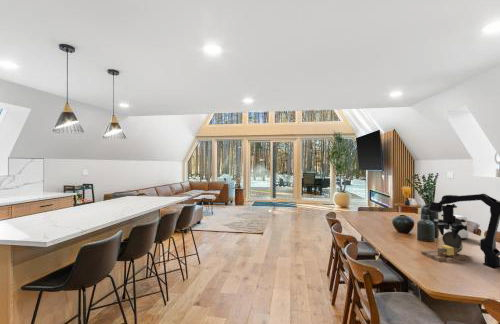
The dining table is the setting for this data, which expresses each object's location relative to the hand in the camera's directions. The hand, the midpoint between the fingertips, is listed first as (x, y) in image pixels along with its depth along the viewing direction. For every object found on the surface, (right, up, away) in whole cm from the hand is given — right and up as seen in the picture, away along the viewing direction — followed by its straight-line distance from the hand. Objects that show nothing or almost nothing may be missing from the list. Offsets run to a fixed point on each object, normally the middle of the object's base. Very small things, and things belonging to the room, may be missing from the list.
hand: (448, 236), depth 176 cm
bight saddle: (-5, -9, -6) cm, 12 cm away
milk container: (+39, -13, +44) cm, 60 cm away
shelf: (-6, -13, -3) cm, 14 cm away
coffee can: (+9, -8, +7) cm, 14 cm away
